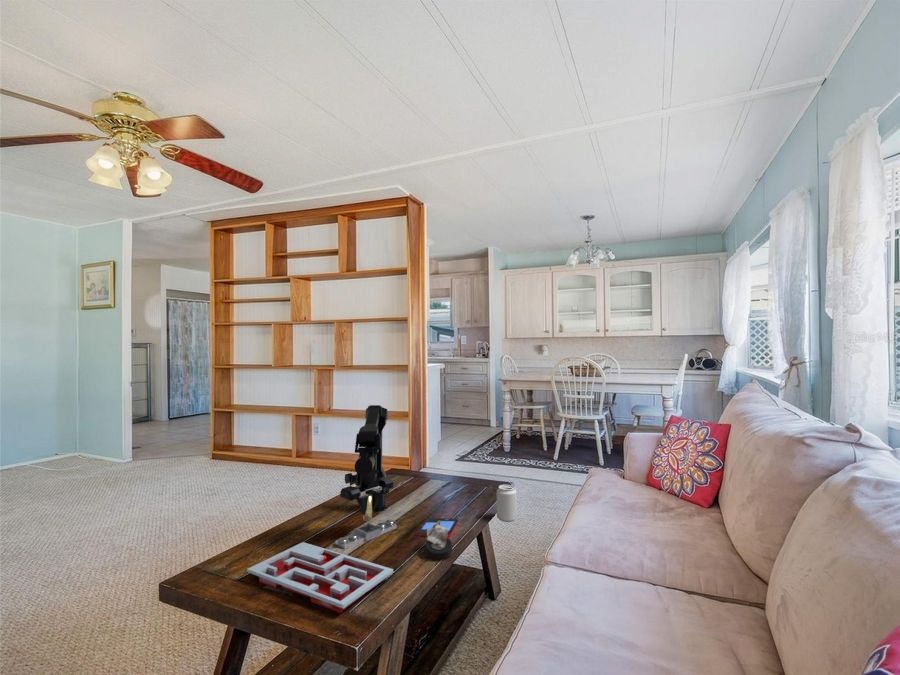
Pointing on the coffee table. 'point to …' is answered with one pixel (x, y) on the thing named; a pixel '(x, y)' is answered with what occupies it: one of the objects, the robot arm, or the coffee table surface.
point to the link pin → (368, 509)
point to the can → (506, 503)
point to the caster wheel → (438, 543)
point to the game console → (445, 522)
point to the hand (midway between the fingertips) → (367, 513)
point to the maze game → (321, 575)
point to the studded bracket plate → (365, 533)
